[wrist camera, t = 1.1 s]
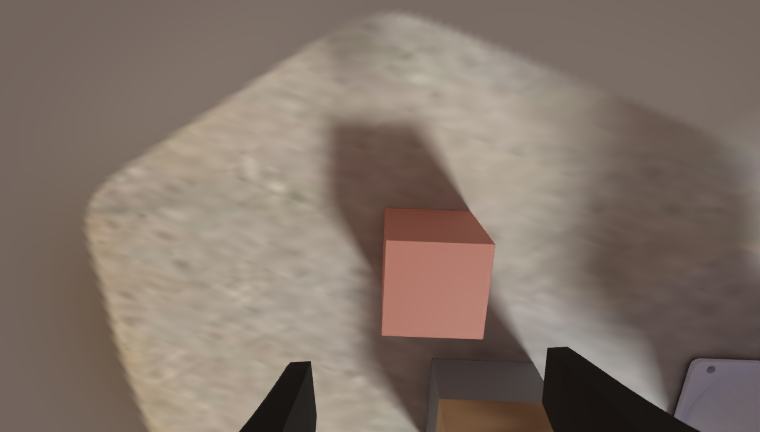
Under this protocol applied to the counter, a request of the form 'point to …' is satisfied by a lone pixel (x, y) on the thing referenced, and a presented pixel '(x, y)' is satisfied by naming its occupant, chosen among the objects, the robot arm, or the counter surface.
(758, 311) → the counter surface
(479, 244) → the red block
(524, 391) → the tower base
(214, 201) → the counter surface
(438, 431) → the tower middle
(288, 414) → the robot arm
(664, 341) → the counter surface
